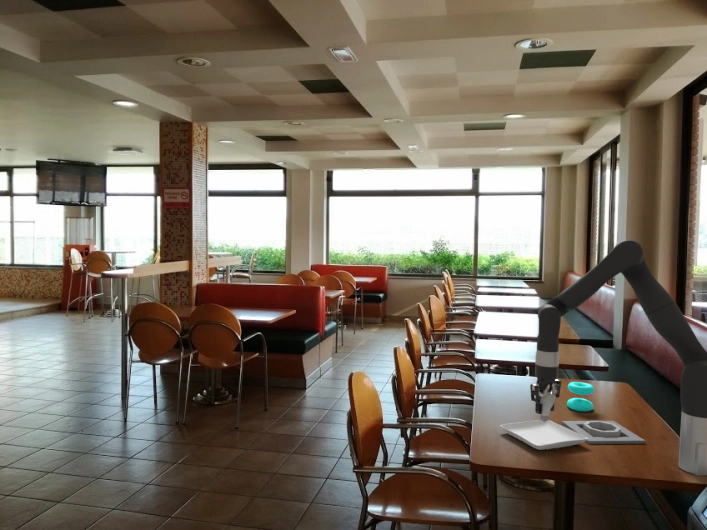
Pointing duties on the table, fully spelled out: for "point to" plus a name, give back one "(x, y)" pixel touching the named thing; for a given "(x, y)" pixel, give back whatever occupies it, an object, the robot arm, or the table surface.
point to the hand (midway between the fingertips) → (544, 411)
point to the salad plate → (543, 434)
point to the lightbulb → (546, 406)
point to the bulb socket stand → (603, 432)
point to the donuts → (580, 403)
